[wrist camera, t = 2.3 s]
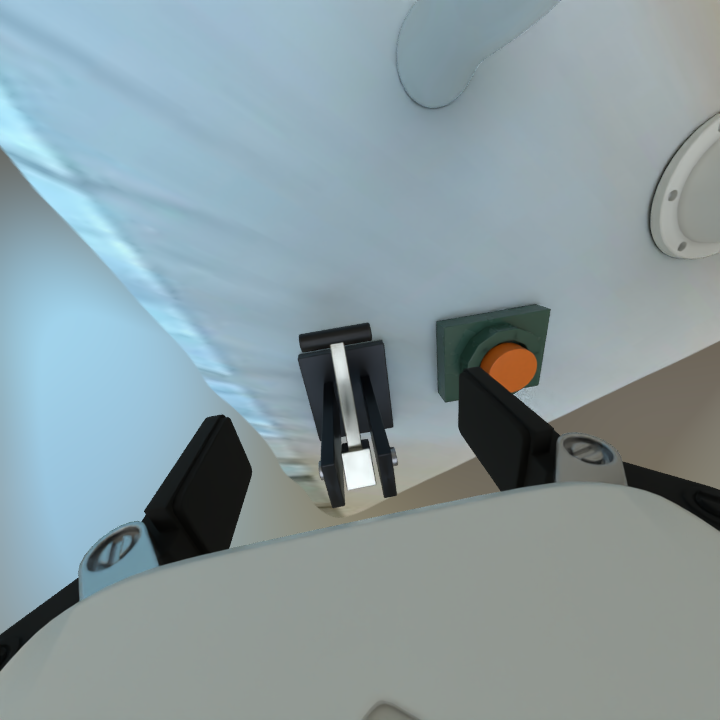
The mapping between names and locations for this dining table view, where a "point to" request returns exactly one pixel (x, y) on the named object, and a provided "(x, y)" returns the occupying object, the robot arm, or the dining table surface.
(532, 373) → the button
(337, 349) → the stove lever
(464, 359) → the block
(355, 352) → the lever bracket
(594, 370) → the dining table surface
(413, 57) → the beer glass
